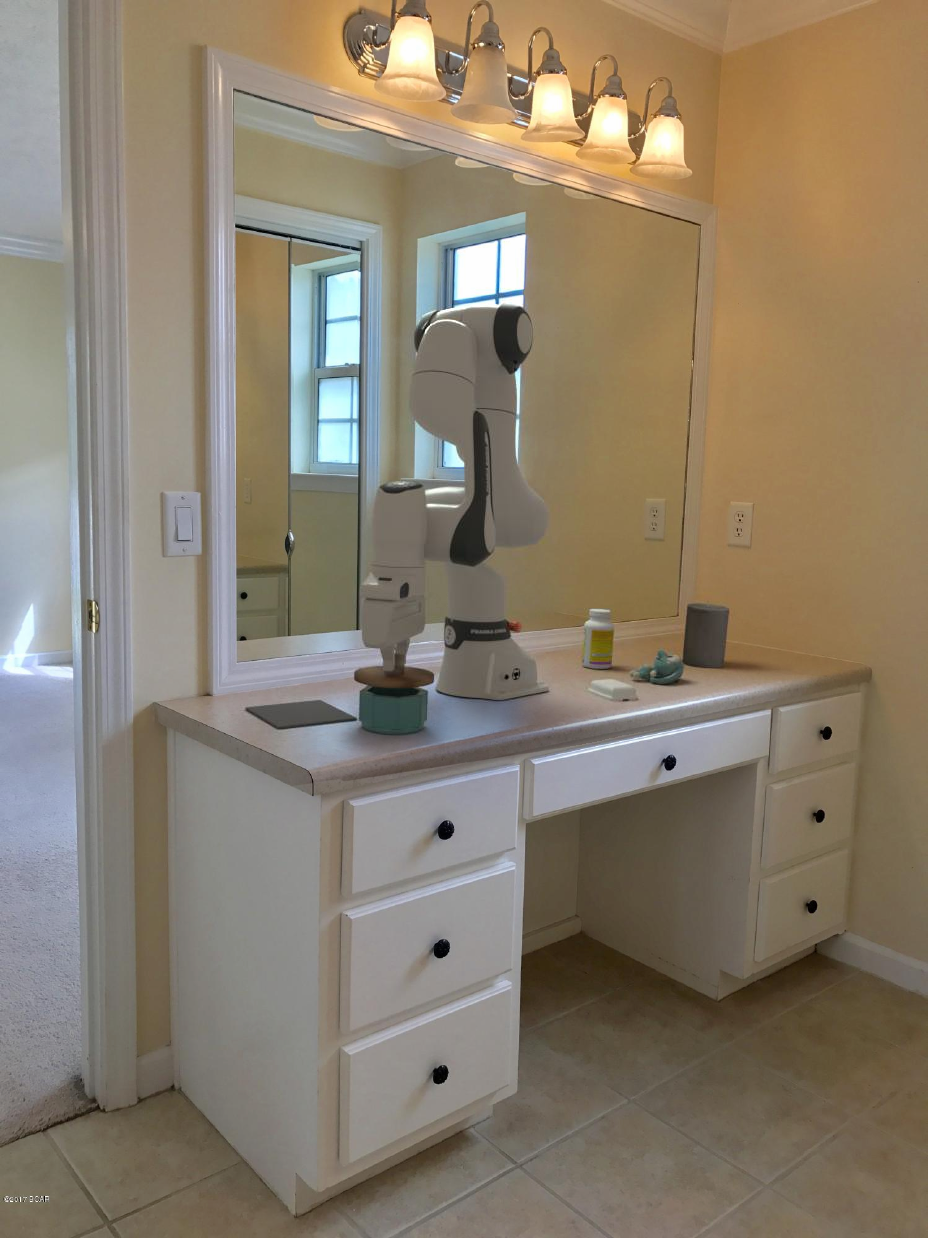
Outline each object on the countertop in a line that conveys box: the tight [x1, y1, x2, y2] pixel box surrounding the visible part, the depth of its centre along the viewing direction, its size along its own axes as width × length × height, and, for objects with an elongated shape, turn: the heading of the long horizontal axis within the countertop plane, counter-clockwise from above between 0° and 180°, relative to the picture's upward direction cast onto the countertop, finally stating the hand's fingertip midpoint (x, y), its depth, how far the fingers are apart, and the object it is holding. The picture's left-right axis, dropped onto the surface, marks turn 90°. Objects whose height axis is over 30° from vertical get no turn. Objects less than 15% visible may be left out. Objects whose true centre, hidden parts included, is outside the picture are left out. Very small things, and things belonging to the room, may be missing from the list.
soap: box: [587, 678, 639, 702], centre depth 191 cm, size 9×7×3 cm
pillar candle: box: [681, 600, 730, 669], centre depth 227 cm, size 10×10×15 cm
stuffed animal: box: [629, 649, 685, 685], centre depth 207 cm, size 11×7×12 cm
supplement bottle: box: [581, 608, 615, 670], centre depth 218 cm, size 7×7×13 cm
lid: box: [353, 653, 435, 688], centre depth 159 cm, size 13×13×4 cm
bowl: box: [358, 685, 429, 736], centre depth 160 cm, size 10×10×6 cm
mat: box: [245, 699, 358, 730], centre depth 165 cm, size 14×14×1 cm
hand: (394, 667), depth 159 cm, fingers closed on lid, 3 cm apart
